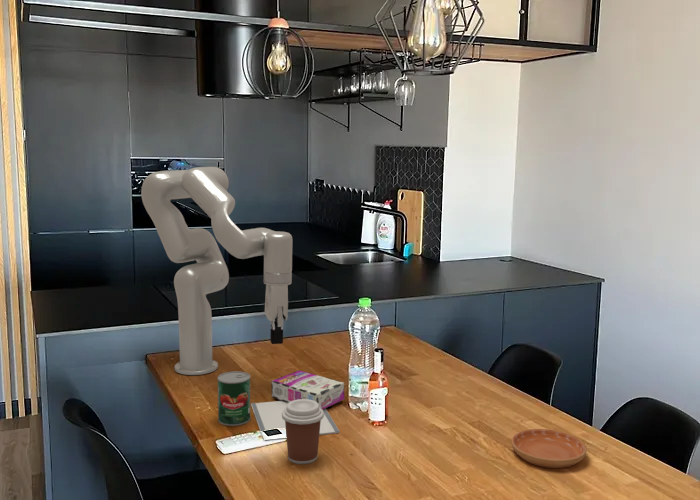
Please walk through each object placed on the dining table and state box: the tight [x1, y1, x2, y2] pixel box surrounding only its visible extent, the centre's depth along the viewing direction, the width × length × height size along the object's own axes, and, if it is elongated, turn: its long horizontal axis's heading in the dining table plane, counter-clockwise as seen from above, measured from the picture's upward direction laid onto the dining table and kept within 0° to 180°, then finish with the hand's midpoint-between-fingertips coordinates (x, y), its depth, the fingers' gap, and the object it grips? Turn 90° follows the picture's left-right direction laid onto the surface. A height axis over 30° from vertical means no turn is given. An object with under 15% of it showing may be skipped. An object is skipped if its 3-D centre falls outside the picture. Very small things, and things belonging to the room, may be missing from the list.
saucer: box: [511, 428, 588, 469], centre depth 152 cm, size 16×16×3 cm
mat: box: [250, 400, 341, 436], centre depth 170 cm, size 22×18×1 cm
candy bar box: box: [271, 370, 345, 410], centre depth 181 cm, size 11×5×16 cm
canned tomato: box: [217, 370, 251, 427], centre depth 168 cm, size 8×8×11 cm
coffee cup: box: [282, 399, 324, 465], centre depth 148 cm, size 9×9×12 cm
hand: (276, 342), depth 188 cm, fingers closed
